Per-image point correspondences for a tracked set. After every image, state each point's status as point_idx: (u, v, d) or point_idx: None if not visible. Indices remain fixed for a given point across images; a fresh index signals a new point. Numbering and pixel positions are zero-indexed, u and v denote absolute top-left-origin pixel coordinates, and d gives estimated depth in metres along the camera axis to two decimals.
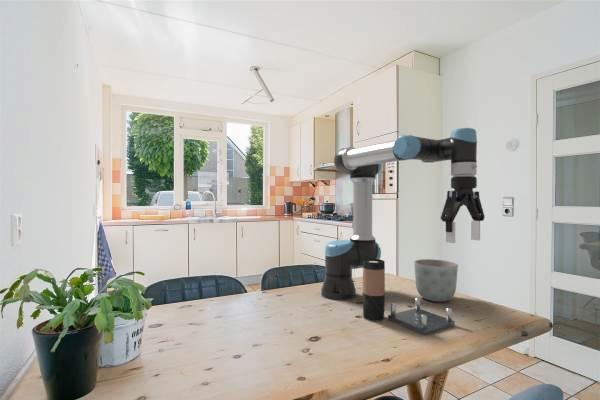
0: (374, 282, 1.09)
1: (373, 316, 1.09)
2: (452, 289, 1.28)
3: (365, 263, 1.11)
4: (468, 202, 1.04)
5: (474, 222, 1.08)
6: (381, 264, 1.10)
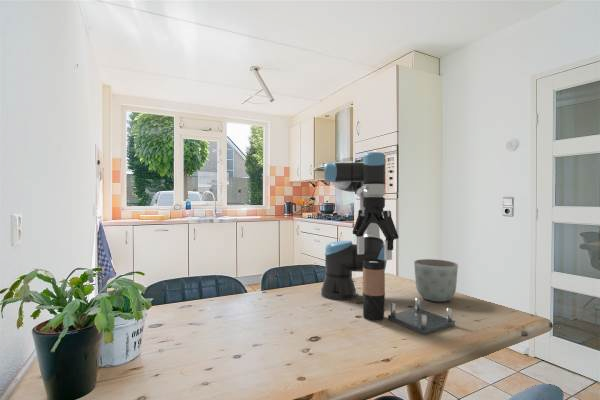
0: (374, 282, 1.09)
1: (373, 316, 1.09)
2: (452, 289, 1.28)
3: (365, 263, 1.11)
4: (373, 220, 1.11)
5: None
6: (381, 264, 1.10)
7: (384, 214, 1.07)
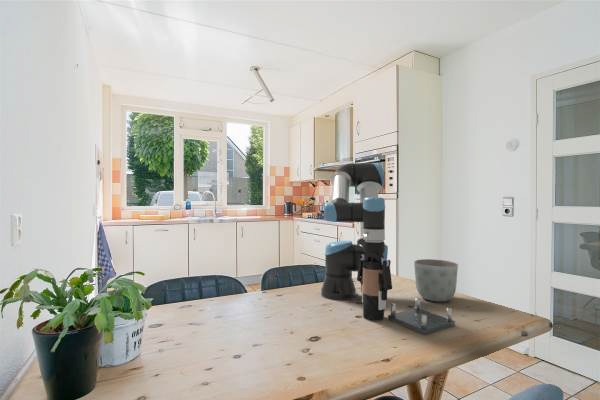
0: (374, 282, 1.09)
1: (373, 316, 1.09)
2: (452, 289, 1.28)
3: (365, 263, 1.11)
4: None
5: None
6: (381, 264, 1.10)
7: (383, 264, 1.07)
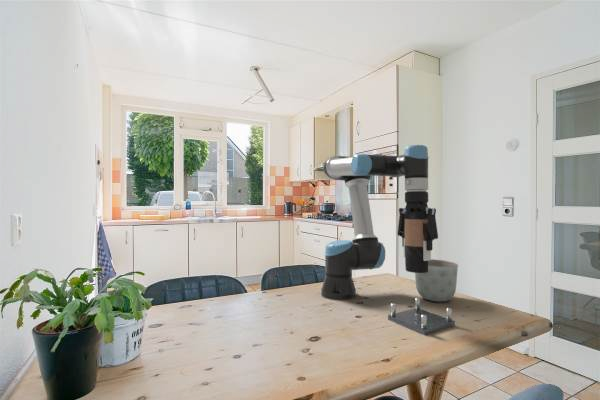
0: (418, 232, 1.05)
1: (417, 268, 1.05)
2: (452, 289, 1.28)
3: (408, 213, 1.07)
4: None
5: None
6: (425, 214, 1.05)
7: (428, 212, 1.03)
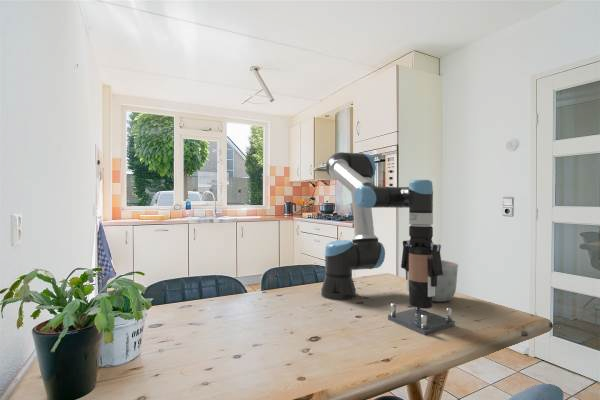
0: (423, 268, 1.04)
1: (422, 303, 1.05)
2: (452, 289, 1.28)
3: (412, 248, 1.07)
4: None
5: None
6: (430, 249, 1.05)
7: (433, 248, 1.03)
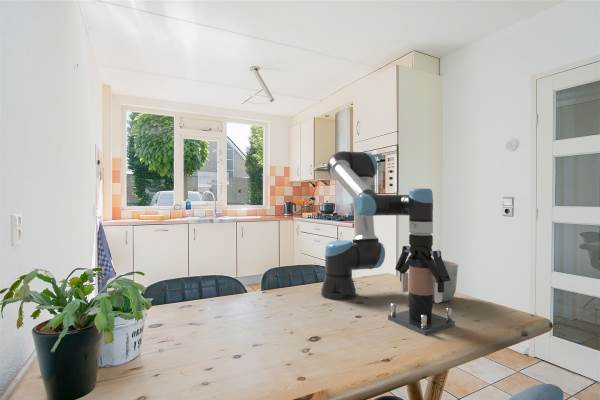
0: (423, 281, 1.05)
1: None
2: (452, 289, 1.28)
3: (413, 261, 1.07)
4: (421, 259, 1.07)
5: None
6: None
7: (434, 254, 1.02)
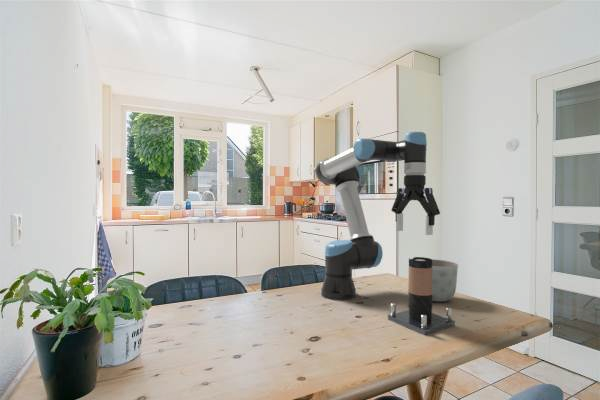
0: (423, 281, 1.05)
1: None
2: (452, 289, 1.28)
3: (412, 261, 1.07)
4: (414, 198, 1.16)
5: None
6: (429, 262, 1.05)
7: (426, 191, 1.11)
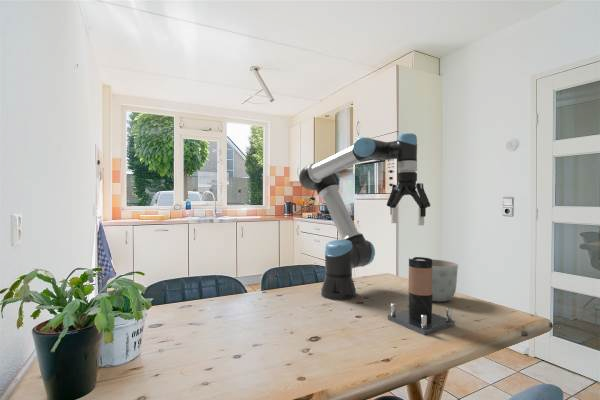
0: (423, 281, 1.05)
1: None
2: (452, 289, 1.28)
3: (412, 261, 1.07)
4: (407, 192, 1.29)
5: None
6: (429, 262, 1.05)
7: (417, 186, 1.24)
